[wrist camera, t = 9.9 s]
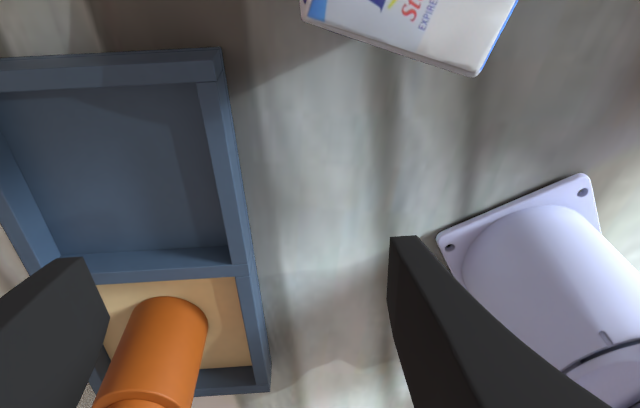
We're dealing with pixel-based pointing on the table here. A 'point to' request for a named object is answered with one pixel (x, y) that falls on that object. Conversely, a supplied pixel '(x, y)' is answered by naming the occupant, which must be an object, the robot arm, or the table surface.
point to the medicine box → (419, 27)
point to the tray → (137, 193)
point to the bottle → (156, 357)
